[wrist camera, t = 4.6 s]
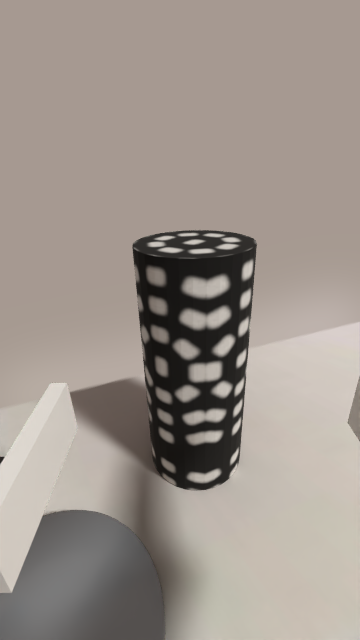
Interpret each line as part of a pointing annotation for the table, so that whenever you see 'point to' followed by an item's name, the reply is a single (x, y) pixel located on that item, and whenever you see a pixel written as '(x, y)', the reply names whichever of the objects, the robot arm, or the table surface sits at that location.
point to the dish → (84, 584)
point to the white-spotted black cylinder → (195, 349)
